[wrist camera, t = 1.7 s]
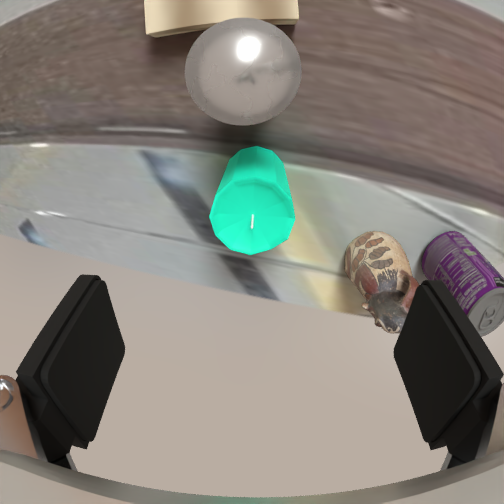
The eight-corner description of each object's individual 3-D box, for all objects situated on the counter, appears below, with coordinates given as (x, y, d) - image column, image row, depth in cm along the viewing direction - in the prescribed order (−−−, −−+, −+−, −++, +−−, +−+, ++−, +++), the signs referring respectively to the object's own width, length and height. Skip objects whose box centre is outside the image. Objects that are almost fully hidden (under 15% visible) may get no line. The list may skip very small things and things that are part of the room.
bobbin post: (285, 39, 25) (298, 16, 15) (288, 109, 28) (303, 123, 18) (208, 43, 25) (181, 24, 15) (214, 113, 28) (190, 129, 19)
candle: (224, 201, 33) (207, 264, 23) (225, 144, 30) (205, 181, 20) (283, 204, 33) (292, 268, 23) (288, 147, 30) (303, 186, 20)
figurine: (330, 261, 36) (353, 335, 26) (373, 217, 33) (416, 280, 23) (369, 291, 38) (398, 363, 28) (410, 252, 35) (454, 318, 25)
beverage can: (460, 272, 36) (504, 331, 26) (416, 281, 37) (455, 347, 27) (468, 225, 33) (523, 279, 23) (421, 232, 34) (471, 293, 23)
